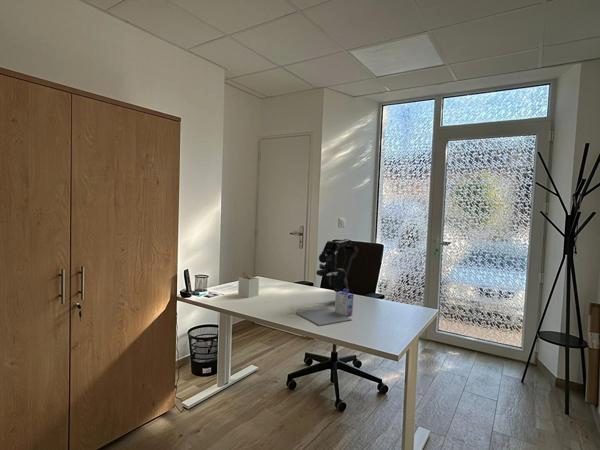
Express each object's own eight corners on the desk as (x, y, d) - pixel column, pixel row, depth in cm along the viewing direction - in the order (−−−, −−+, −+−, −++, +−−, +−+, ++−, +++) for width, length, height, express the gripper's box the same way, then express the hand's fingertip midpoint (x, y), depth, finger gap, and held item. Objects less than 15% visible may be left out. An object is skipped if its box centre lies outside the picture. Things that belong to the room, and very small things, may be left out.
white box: (247, 293, 251) (248, 270, 250) (258, 296, 244) (259, 272, 243) (238, 295, 244) (238, 271, 243) (248, 298, 237) (249, 273, 236)
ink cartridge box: (353, 314, 207) (354, 290, 206) (346, 316, 203) (348, 291, 203) (340, 310, 214) (341, 287, 214) (334, 312, 211) (335, 288, 210)
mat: (326, 308, 217) (326, 307, 217) (351, 320, 197) (351, 319, 197) (295, 313, 206) (295, 312, 206) (319, 326, 185) (319, 324, 185)
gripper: (336, 258, 235) (335, 281, 236) (312, 260, 226) (311, 284, 227) (346, 261, 225) (345, 285, 226) (321, 262, 216) (320, 288, 217)
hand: (330, 285), depth 224 cm, fingers closed
